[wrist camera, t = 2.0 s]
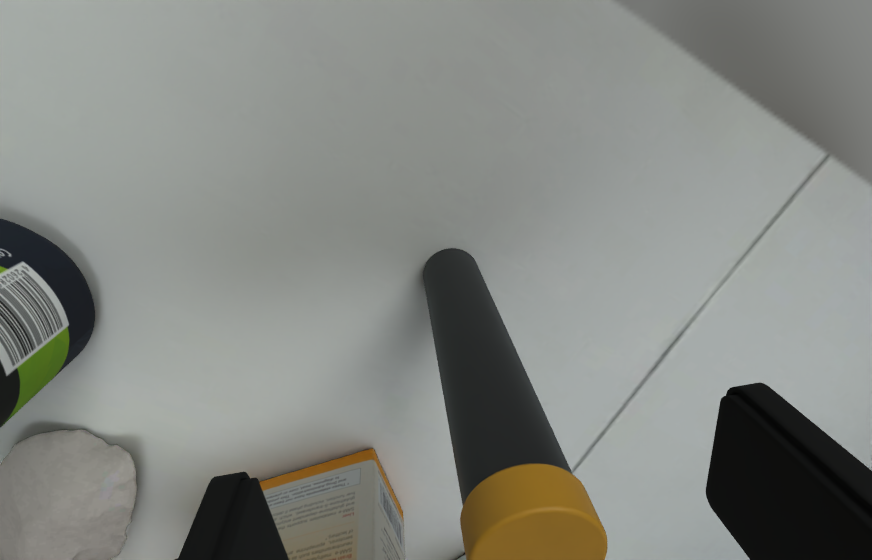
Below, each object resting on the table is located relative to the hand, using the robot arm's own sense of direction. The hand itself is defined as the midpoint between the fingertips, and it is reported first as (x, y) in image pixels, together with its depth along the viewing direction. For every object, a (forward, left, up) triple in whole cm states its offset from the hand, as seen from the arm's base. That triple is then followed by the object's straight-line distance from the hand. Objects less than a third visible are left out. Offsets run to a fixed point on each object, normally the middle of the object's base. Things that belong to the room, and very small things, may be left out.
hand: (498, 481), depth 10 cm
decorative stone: (+8, -18, -10) cm, 22 cm away
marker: (0, 0, -10) cm, 10 cm away
